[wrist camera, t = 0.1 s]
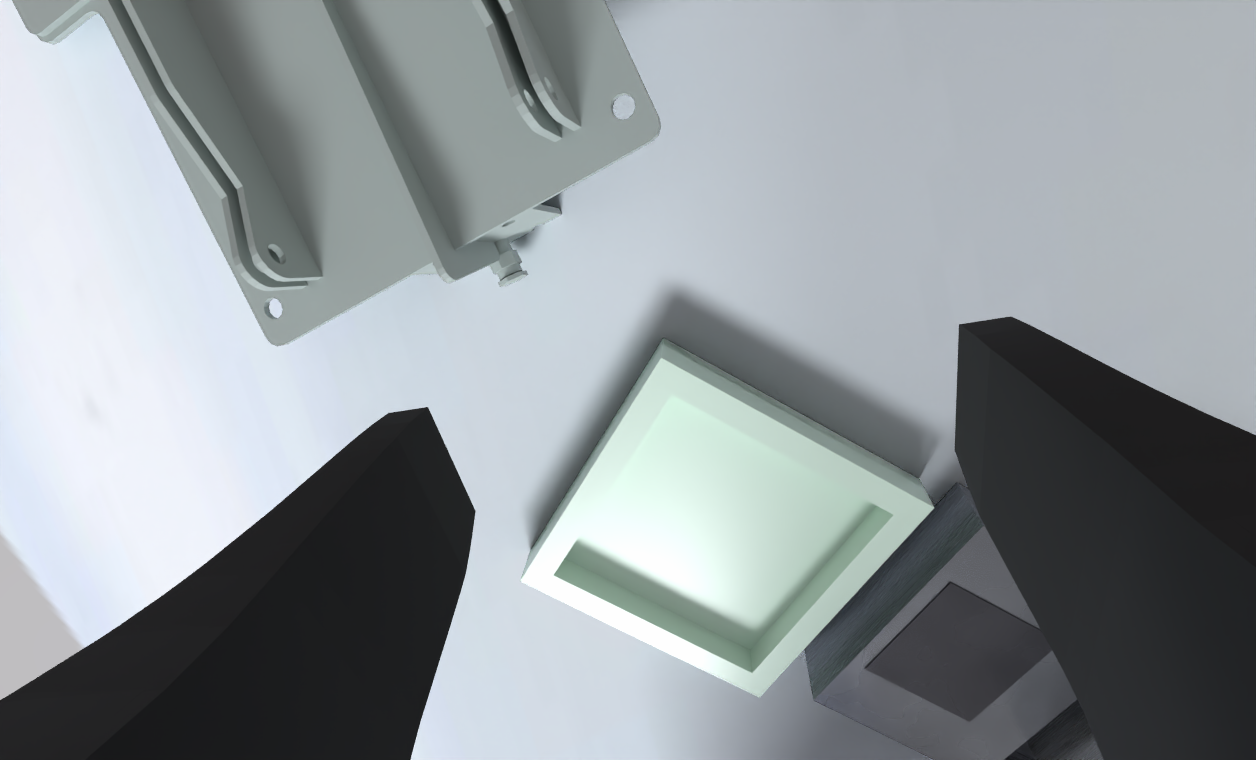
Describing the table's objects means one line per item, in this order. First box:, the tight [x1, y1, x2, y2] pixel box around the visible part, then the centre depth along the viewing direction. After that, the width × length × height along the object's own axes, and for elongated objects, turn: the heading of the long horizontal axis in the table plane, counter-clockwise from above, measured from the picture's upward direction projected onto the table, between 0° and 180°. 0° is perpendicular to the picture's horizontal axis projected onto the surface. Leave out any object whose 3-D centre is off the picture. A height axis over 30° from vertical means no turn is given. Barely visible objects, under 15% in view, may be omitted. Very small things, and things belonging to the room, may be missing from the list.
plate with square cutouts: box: [804, 483, 1077, 760], centre depth 23 cm, size 8×15×2 cm, turn 61°
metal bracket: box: [12, 0, 661, 346], centre depth 17 cm, size 14×6×15 cm
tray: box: [520, 338, 934, 698], centre depth 22 cm, size 9×9×2 cm
